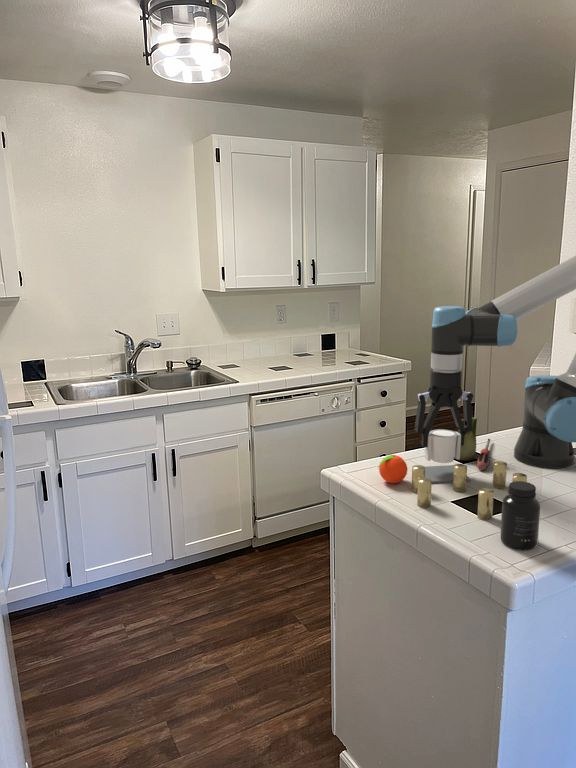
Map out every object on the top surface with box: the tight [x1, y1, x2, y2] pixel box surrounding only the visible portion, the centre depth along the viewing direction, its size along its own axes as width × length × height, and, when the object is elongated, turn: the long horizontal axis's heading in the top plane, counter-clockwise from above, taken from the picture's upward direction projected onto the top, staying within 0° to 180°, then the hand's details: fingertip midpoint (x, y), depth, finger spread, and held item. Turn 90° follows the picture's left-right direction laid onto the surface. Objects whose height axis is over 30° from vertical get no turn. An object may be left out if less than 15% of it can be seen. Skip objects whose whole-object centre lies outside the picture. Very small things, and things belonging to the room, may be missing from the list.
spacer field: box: [411, 460, 528, 521], centre depth 131 cm, size 25×18×6 cm
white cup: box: [429, 428, 457, 464], centre depth 146 cm, size 7×7×7 cm
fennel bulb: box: [459, 417, 478, 462], centre depth 157 cm, size 6×5×12 cm
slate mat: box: [424, 464, 471, 485], centre depth 148 cm, size 11×10×1 cm
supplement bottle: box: [500, 481, 541, 551], centre depth 112 cm, size 7×7×12 cm
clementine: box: [377, 454, 408, 484], centre depth 143 cm, size 8×7×7 cm
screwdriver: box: [476, 438, 491, 471], centre depth 160 cm, size 25×3×3 cm, turn 157°
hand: (442, 458), depth 147 cm, fingers closed on white cup, 7 cm apart
